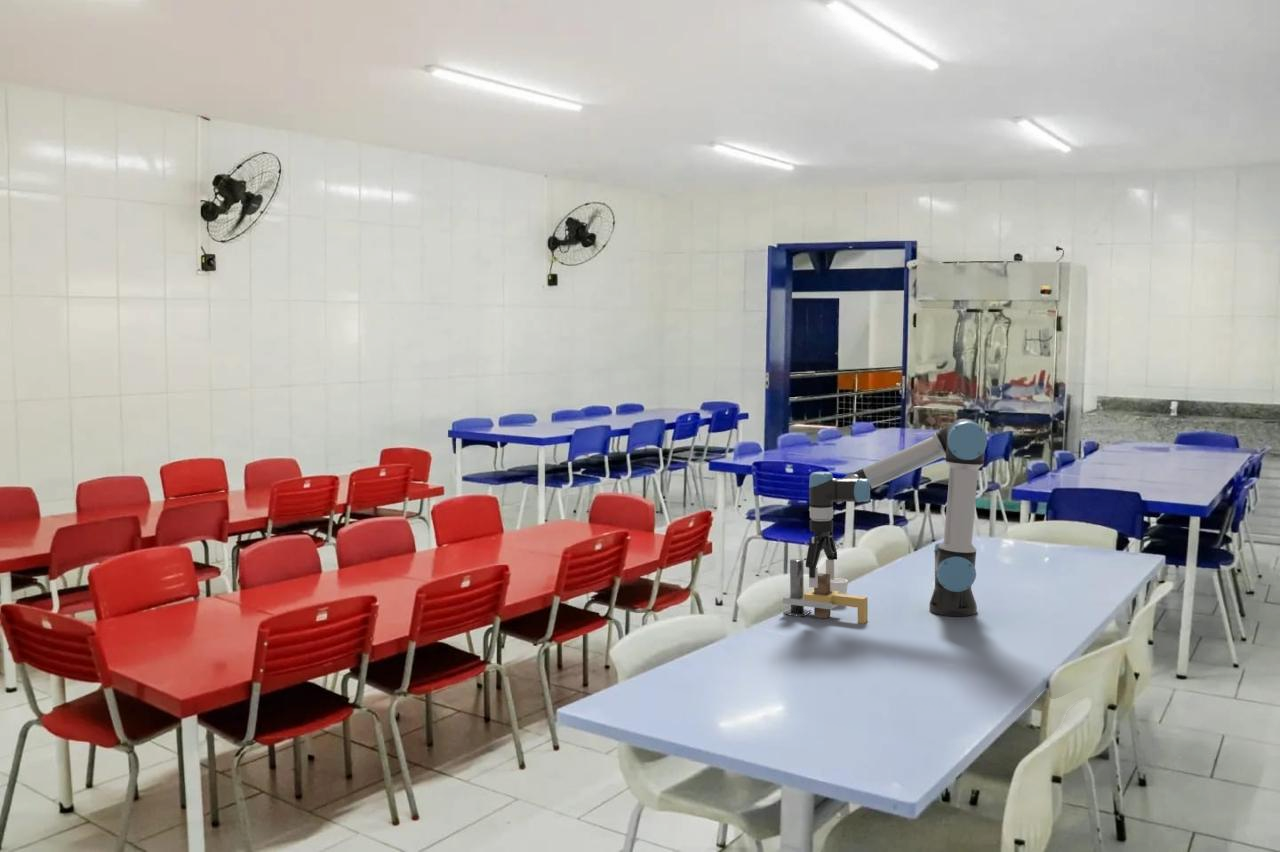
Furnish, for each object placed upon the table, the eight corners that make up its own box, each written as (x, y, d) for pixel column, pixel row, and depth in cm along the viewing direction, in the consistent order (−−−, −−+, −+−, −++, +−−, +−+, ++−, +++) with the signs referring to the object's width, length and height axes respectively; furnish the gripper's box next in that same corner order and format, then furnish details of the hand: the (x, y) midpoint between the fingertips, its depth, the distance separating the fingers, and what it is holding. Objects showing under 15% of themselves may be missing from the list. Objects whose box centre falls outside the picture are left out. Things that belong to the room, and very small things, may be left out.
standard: (841, 615, 349) (841, 561, 347) (831, 621, 341) (830, 566, 340) (793, 609, 358) (792, 556, 357) (781, 615, 351) (781, 561, 349)
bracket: (870, 619, 343) (870, 594, 343) (860, 625, 336) (860, 600, 335) (815, 612, 354) (815, 588, 353) (804, 618, 346) (803, 594, 346)
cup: (847, 606, 361) (846, 583, 360) (817, 604, 364) (817, 581, 363) (849, 601, 367) (849, 578, 367) (820, 599, 371) (820, 577, 370)
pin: (819, 614, 351) (819, 573, 350) (830, 616, 348) (830, 574, 347) (814, 617, 347) (814, 575, 346) (825, 618, 345) (825, 576, 344)
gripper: (825, 513, 358) (826, 574, 359) (794, 524, 337) (795, 589, 339) (846, 514, 354) (847, 576, 355) (816, 525, 333) (817, 592, 334)
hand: (821, 583), depth 347 cm, fingers open, 13 cm apart
